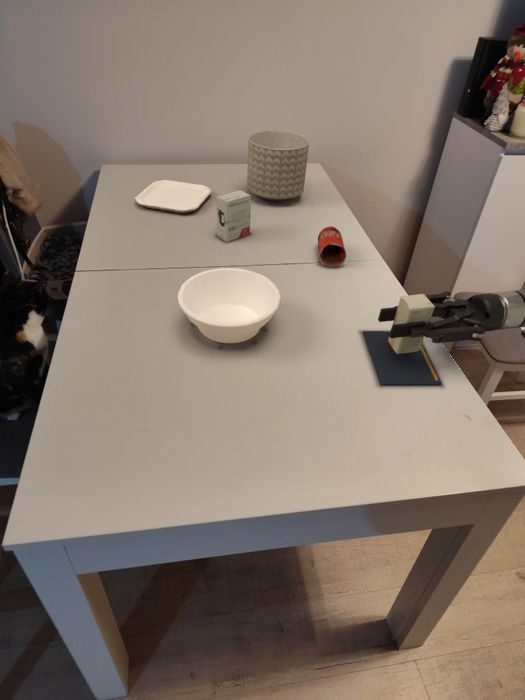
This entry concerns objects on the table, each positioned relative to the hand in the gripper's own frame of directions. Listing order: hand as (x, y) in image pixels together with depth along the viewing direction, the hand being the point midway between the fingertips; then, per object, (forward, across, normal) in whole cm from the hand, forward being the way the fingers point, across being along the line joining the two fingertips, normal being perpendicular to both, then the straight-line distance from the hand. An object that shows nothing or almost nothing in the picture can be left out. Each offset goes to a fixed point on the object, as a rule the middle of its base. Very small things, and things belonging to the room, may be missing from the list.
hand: (386, 323), depth 84 cm
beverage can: (-5, +42, -10) cm, 43 cm away
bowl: (+27, +16, -10) cm, 33 cm away
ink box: (+19, +57, -10) cm, 61 cm away
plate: (+33, +83, -10) cm, 90 cm away
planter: (0, +83, -10) cm, 84 cm away
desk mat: (-6, 0, -10) cm, 11 cm away
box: (-5, 0, -7) cm, 9 cm away
